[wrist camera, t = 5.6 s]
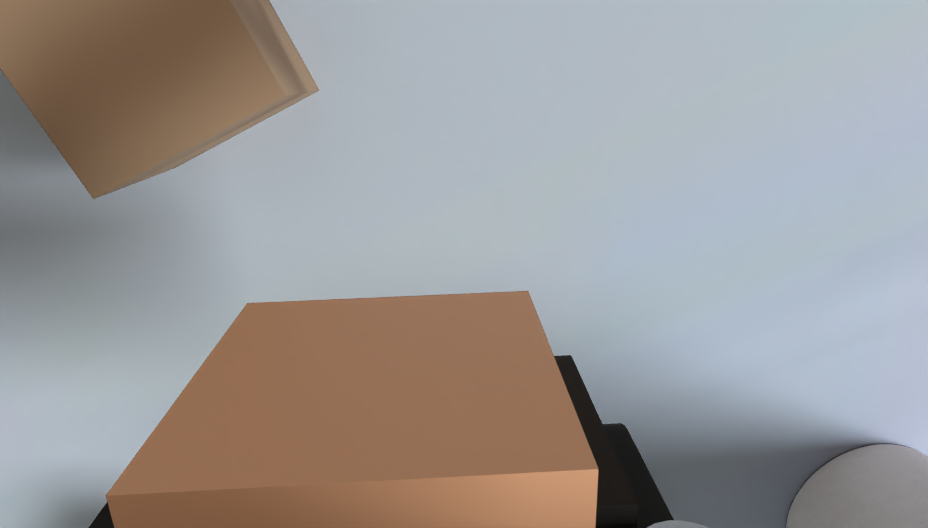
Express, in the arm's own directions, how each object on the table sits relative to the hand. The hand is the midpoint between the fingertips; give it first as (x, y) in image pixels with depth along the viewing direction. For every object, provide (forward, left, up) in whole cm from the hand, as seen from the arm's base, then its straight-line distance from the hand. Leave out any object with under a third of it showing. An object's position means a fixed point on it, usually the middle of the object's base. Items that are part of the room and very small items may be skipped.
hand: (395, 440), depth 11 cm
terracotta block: (0, 0, -1) cm, 1 cm away
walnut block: (-7, -6, -10) cm, 13 cm away
